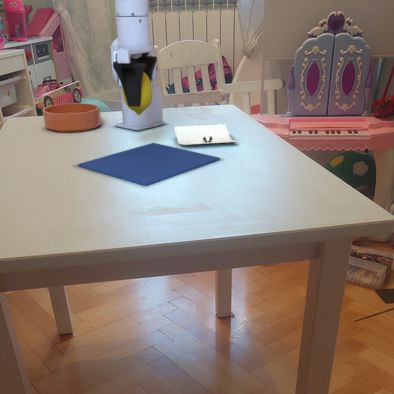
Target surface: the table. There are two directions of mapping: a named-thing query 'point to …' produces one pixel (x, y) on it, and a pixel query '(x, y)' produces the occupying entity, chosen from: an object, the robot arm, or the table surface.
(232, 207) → the table surface
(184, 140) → the white square plate
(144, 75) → the lemon
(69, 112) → the bowl
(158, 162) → the cloth
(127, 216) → the table surface
